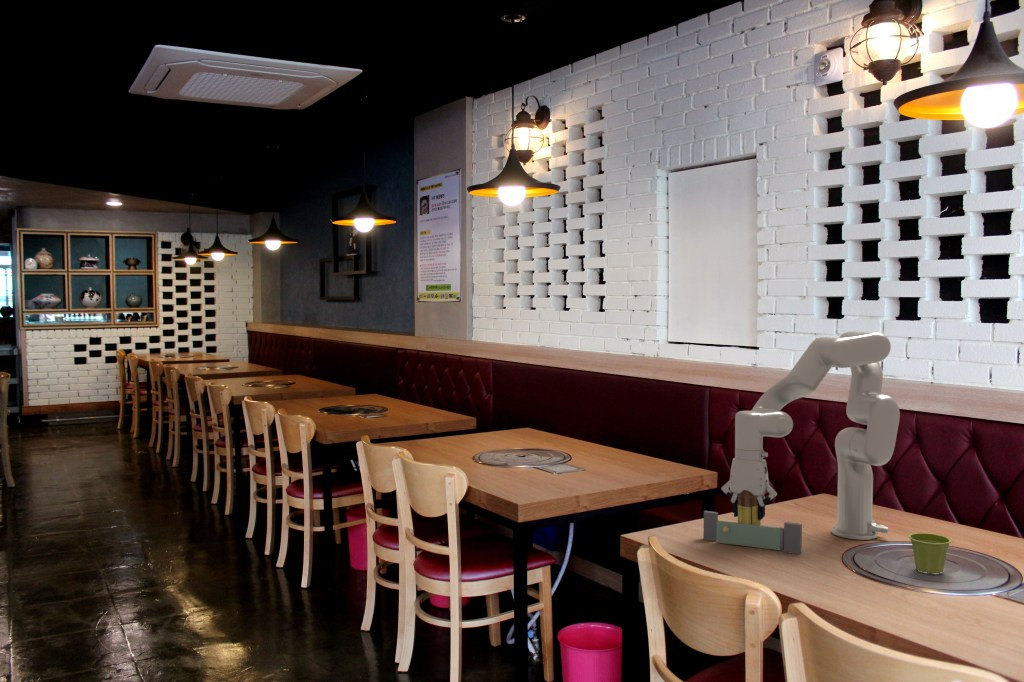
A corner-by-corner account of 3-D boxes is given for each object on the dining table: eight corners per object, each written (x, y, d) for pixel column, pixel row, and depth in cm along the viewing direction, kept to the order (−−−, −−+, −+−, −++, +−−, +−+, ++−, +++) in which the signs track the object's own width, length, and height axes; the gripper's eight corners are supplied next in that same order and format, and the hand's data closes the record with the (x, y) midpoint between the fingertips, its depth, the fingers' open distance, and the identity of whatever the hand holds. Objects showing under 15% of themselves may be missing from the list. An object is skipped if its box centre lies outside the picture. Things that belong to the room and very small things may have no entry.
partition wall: (801, 553, 219) (801, 523, 219) (800, 554, 218) (800, 525, 218) (705, 537, 234) (705, 510, 234) (703, 539, 233) (703, 511, 232)
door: (784, 549, 222) (784, 527, 222) (783, 551, 219) (783, 530, 219) (717, 541, 230) (717, 520, 229) (715, 543, 227) (716, 522, 227)
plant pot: (934, 580, 198) (935, 545, 197) (900, 569, 206) (901, 535, 206) (958, 574, 202) (959, 540, 202) (924, 563, 210) (924, 531, 210)
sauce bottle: (758, 537, 232) (759, 468, 230) (762, 543, 225) (763, 473, 224) (735, 536, 232) (735, 468, 231) (738, 543, 226) (739, 473, 225)
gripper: (783, 455, 226) (783, 518, 227) (723, 450, 236) (723, 510, 236) (776, 459, 220) (775, 524, 221) (714, 454, 229) (714, 516, 230)
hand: (748, 517), depth 228 cm, fingers closed on sauce bottle, 6 cm apart
